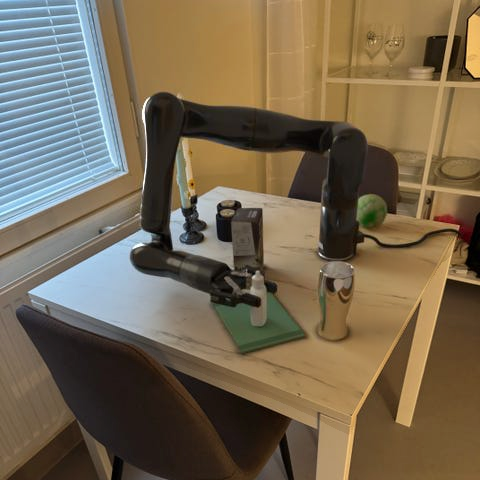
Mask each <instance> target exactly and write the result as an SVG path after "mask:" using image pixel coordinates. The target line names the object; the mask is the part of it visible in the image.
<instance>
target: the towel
mask: <svg viewBox="0 0 480 480" xmlns="http://www.w3.org/2000/svg"><path fill="white" fill-rule="evenodd" d="M266 292H267V291H266ZM248 293H249V294H250V292H248ZM226 299H227V301H230V299H228V298H226ZM212 305H213V306H214V308H215V309H216V312H217V313H218V315H219V317H220V318H221V320H222V322H223V323H224V326H225V327H226V329H227V330H228V332H229V334H230V335H231V337H232V339H233V340H234V342H235V344H236V347H238V350H239V351H240V353H241V354H245V353H250V352H255V351H257V350H261V349H265V348H268V347H271V346H276V345H279V344H283V343H286V342H287V343H288V342H290V341H294V340H298V339H301V338H305V337H306V334H305V333H304V331H303V330H302V329H301V328H300V327H299V325H298V324H297V323H296V322H295V321H294V319H293V318H292V317H291V315H290V314H289V313H288V312H287V310H286V309H285V308H284V306H282V304H281V303H280V302H279V301H278V299H277V298H276V297H275V295H274V294H273V293H270V292H267V320H266V323H265V324H264V325H263V326H253V325H252V323H251V311H250V306H249V305H247V304H237V306H236V307H229V306H224V305H220V304H216V303H212Z"/></svg>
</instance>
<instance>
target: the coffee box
mask: <svg viewBox="0 0 480 480" xmlns="http://www.w3.org/2000/svg"><path fill="white" fill-rule="evenodd" d="M263 214H264V213H263V207H238V208H237V209H236V211H235V213H234V215H233V217H232V219H231V221H230V224H231V225H230V226H231V242H232V243H231V245H232V258H233V259H232V260H233V261H232V262H233V270H238V271H241V270H243V269H244V266H245V265H249V266H251V267H254V268H256V269H258V270H260V271H262V272H263V269H264V266H265V257H264V256H265V255H264V253H265V251H264V218H263V217H264V216H263ZM246 283H248V279H247V278H246Z"/></svg>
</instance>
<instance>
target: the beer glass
mask: <svg viewBox="0 0 480 480" xmlns="http://www.w3.org/2000/svg"><path fill="white" fill-rule="evenodd" d="M355 272H356V269H355V267H354V266H353V265H352V264H350V263H349V262H346V261H327V262H325V263H323V264H322V265H320V268H319V276H318V277H319V278H318V283H317V286H318V287H317V296H318V304H319V305H318V306H319V311H320V319H319V323H318V327H317V333H318V334H319V336H320V337H322V338H323V339H326V340H330V341H337V340H341V339H344V338H345V337H346V336H347V335H348V324H347V321H348V315H349V311H350V308H351V305H352V302H353V299H354V292H355V285H356V283H355V281H356V280H355V276H356V274H355Z"/></svg>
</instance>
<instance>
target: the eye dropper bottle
mask: <svg viewBox="0 0 480 480" xmlns="http://www.w3.org/2000/svg"><path fill="white" fill-rule="evenodd" d="M249 293H250V294H252V295H255V296H258V297H260V298H261V306H260V307H259V308H257V307H252V306H250V311H251V323H252V325H253V326H263V325H264V324H265V323H266V320H267V292H266V287H265V285H264V277H263V276H262V275H260V271H256V274H255V275H254V276H253V277H252V287H251V289H250V290H249Z"/></svg>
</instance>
